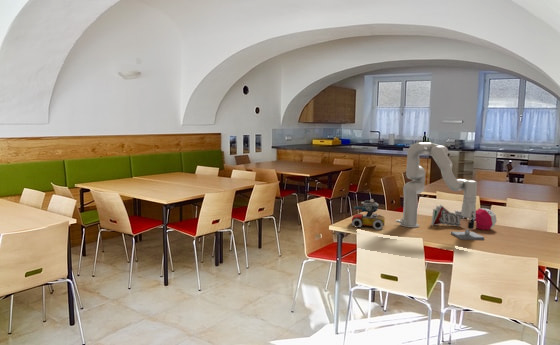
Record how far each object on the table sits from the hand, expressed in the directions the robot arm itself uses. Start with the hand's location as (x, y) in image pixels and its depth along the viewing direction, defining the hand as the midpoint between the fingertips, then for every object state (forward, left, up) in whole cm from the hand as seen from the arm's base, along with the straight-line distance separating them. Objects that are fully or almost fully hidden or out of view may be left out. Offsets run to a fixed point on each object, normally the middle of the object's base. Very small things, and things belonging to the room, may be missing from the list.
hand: (467, 226), depth 275 cm
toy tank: (-57, +28, -7) cm, 64 cm away
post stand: (0, 0, -6) cm, 6 cm away
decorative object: (+23, +22, -7) cm, 33 cm away
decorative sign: (+2, +30, -7) cm, 31 cm away
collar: (0, 0, -1) cm, 1 cm away
